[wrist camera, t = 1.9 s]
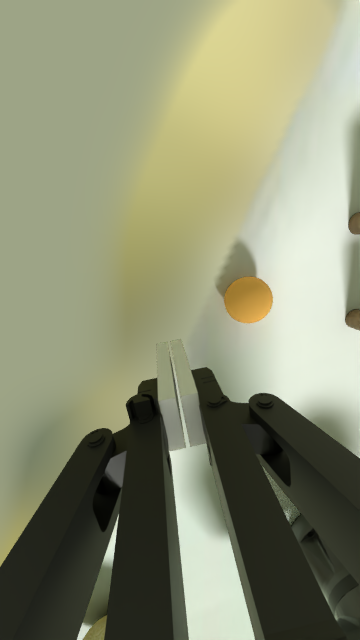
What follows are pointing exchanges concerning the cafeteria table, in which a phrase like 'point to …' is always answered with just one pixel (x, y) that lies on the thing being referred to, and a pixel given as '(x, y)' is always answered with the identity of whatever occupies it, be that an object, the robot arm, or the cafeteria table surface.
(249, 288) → the ball
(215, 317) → the cafeteria table surface
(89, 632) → the cantaloupe
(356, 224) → the post
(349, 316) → the post
